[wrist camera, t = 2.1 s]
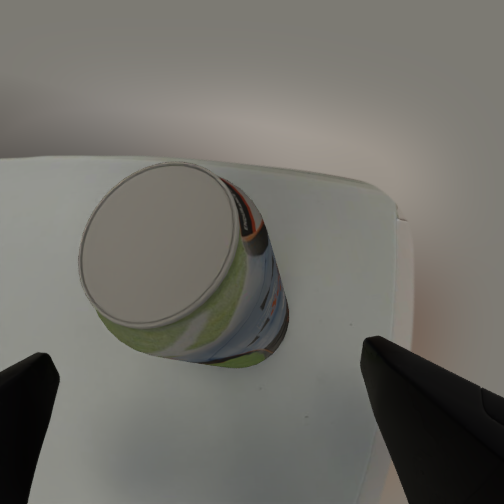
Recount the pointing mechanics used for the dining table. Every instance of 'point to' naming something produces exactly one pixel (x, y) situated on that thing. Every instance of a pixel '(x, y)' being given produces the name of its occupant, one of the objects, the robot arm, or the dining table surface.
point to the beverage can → (184, 268)
